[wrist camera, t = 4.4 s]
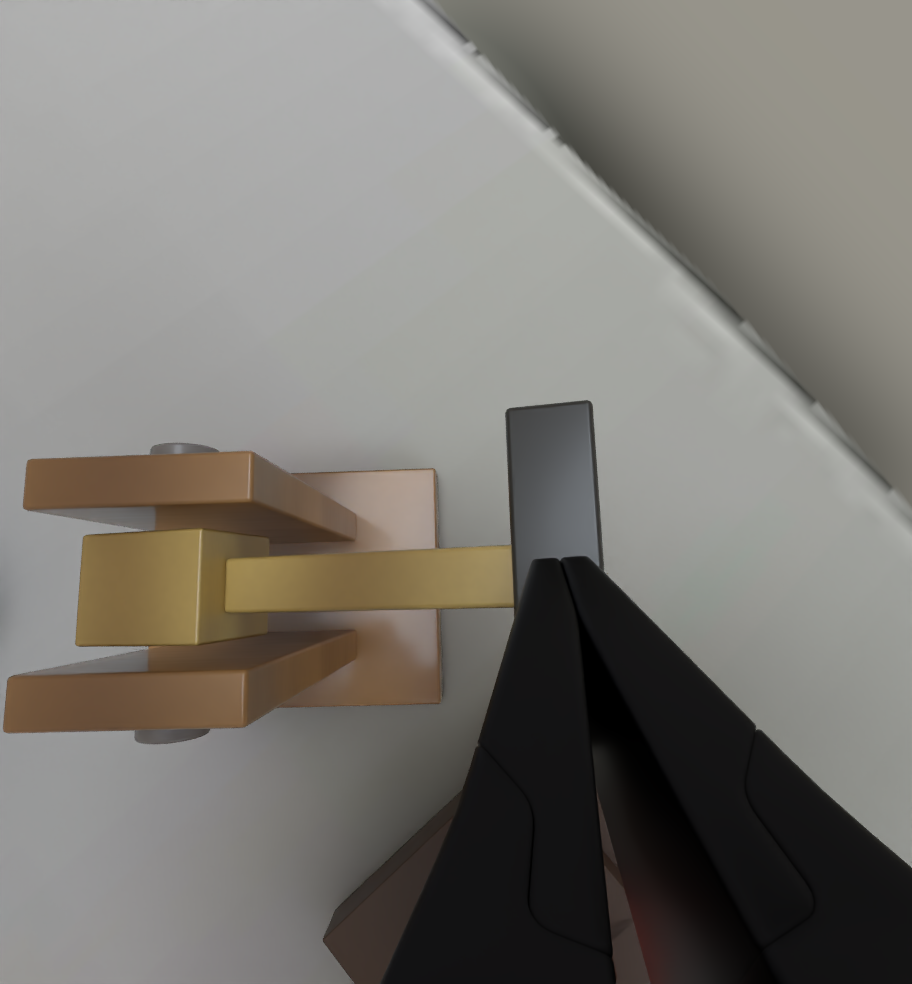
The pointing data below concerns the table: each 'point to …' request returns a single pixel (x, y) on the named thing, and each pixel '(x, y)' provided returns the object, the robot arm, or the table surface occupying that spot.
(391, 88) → the table surface
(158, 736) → the switch bracket
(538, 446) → the switch lever
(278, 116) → the table surface
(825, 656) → the table surface
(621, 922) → the button box
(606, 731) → the robot arm
